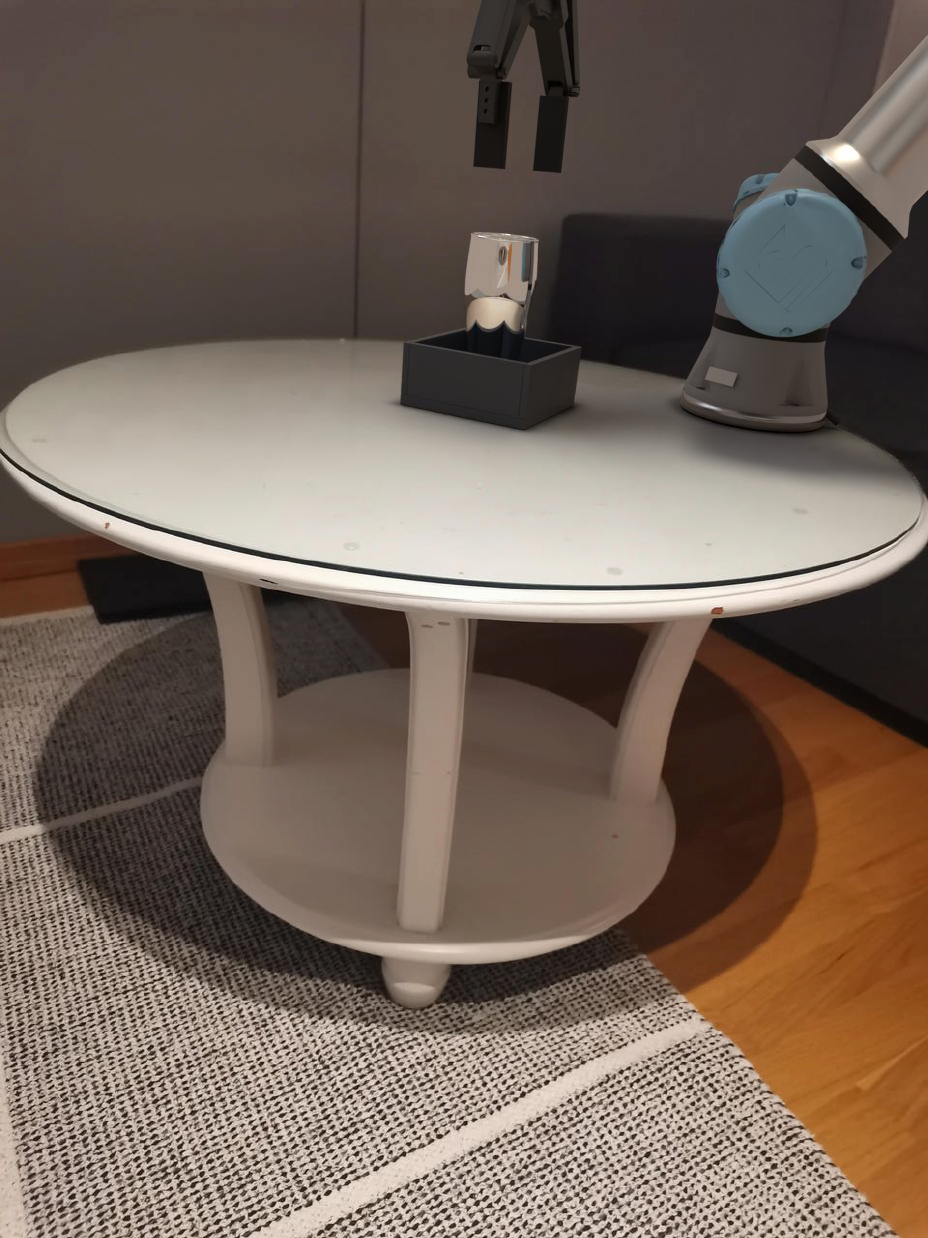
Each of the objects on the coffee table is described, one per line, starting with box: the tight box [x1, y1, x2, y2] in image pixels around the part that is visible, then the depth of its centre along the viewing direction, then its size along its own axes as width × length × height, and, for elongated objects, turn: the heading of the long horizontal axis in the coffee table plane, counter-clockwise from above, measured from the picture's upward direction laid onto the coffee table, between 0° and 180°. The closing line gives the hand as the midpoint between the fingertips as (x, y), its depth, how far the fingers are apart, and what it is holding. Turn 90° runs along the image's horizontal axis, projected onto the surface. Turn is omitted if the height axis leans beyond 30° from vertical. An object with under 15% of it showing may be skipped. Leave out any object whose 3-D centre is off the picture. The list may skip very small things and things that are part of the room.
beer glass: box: [463, 231, 540, 361], centre depth 92 cm, size 7×7×15 cm
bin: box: [399, 326, 583, 431], centre depth 95 cm, size 13×13×6 cm
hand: (519, 170), depth 87 cm, fingers open, 13 cm apart
